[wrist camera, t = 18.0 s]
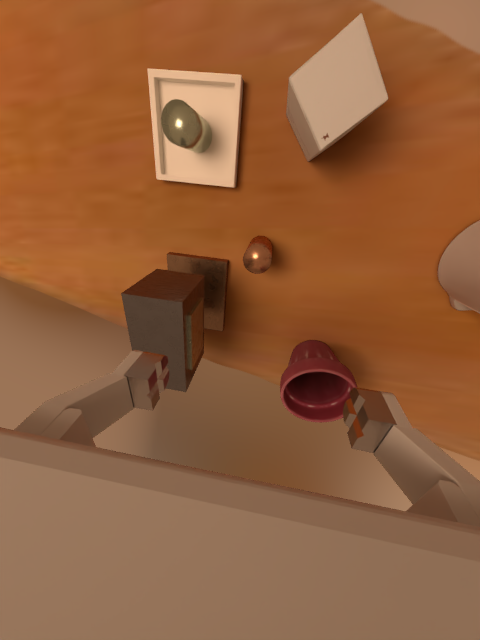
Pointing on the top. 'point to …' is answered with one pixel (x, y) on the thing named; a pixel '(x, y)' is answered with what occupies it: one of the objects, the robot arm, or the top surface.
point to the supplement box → (335, 90)
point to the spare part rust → (258, 255)
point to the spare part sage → (185, 126)
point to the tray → (216, 108)
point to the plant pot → (316, 383)
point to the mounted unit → (177, 312)
